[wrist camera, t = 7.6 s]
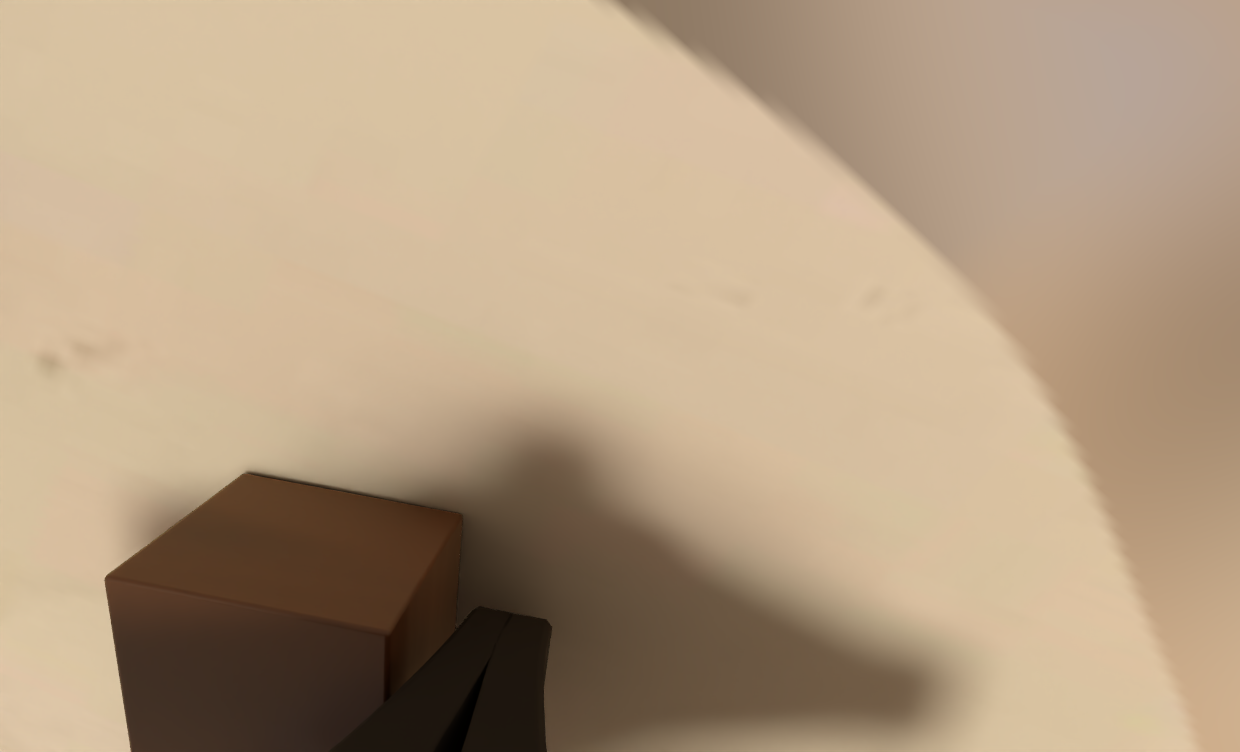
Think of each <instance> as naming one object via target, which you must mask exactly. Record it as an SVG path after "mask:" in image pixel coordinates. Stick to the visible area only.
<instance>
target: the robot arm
mask: <svg viewBox="0 0 1240 752" xmlns="http://www.w3.org/2000/svg"><path fill="white" fill-rule="evenodd" d="M551 631H552V626H551V625H550V624H549V622H548V621H547V620H546V619H540V618H535V617H530V616H525V615H520V614H515V613H510V612H504V611H499V610H494V609H489V608H484V607H478V608H476V609H474V610H473V611H472V612H471V613H470V614H469V615H468V616H467V618H466V619H465V620H464V621H463V622H462V624H461V625H460V626H459V627H458V628H457V629H456V630H455V632H454V633H453V634H452V635H451V636H450V637H449V638H448V639H447V640H446V642H445V643H444V644H443V645H442V646H441V647H440V648H439V649H438V650H437V651H436V652H435V653H434V654H433V655H432V656H431V657H430V659H429V660H428V661H427V662H426V663H425V664H424V665H423V666H422V667H421V668H420V669H419V670H418V671H417V672H416V673H415V674H414V675H413V676H412V677H411V678H409V679H408V680H407V681H406V682H405V683H404V684H403V685H402V686H401V687H400V688H399V689H398V690H397V691H396V692H395V693H394V694H393V695H392V696H391V697H390V698H389V699H388V700H387V701H386V702H385V703H384V704H382V705H381V706H380V707H379V708H378V709H377V710H376V711H375V712H373V713H372V714H371V715H370V716H369V717H368V718H367V719H366V720H364V721H363V722H362V723H361V724H360V725H359V726H358V727H357V728H355V729H354V730H353V731H352V732H351V733H350V734H349V735H348V736H346V737H345V738H344V739H343V740H342V741H340V742H339V743H338V744H337V745H336V746H334V747H333V748H332V749H331V750H330V751H328V752H547V748H546V736H545V715H544V682H545V675H546V668H547V660H548V653H549V646H550V638H551Z"/></svg>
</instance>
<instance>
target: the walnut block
mask: <svg viewBox="0 0 1240 752" xmlns="http://www.w3.org/2000/svg"><path fill="white" fill-rule="evenodd" d="M462 522H463V517H462V515H461V514H459V513H453V512H448V511H443V510H437V509H432V508H427V507H421V506H416V505H411V504H405V503H400V502H395V501H389V500H384V499H379V498H373V497H368V496H363V495H357V494H352V493H347V492H341V491H336V490H330V489H325V488H320V487H314V486H309V485H304V484H298V483H293V482H288V481H282V480H277V479H272V478H266V477H261V476H256V475H250V474H242V475H241V476H239V477H238V478H237V479H235V480H234V481H233V482H231V483H230V484H229V485H227V486H226V487H225V488H223V489H222V490H221V491H219V492H218V493H217V494H215V495H214V496H212V497H211V498H210V499H208V500H207V501H206V502H204V503H203V504H202V505H200V506H199V507H198V508H196V509H195V510H194V511H192V512H191V513H190V514H188V515H187V516H186V517H184V518H183V519H182V520H180V521H179V522H178V523H176V524H175V525H174V526H172V527H171V528H170V529H168V530H167V531H165V532H164V533H163V534H161V535H160V536H159V537H157V538H156V539H155V540H153V541H152V542H151V543H149V544H148V545H147V546H145V547H144V548H143V549H141V550H140V551H139V552H137V553H136V554H135V555H133V556H132V557H131V558H129V559H128V560H127V561H125V562H124V563H123V564H121V565H120V566H118V567H117V568H116V569H114V570H113V571H112V572H110V573H109V574H108V575H107V576H106V577H105V587H106V593H107V600H108V606H109V613H110V619H111V625H112V632H113V638H114V645H115V651H116V658H117V664H118V671H119V677H120V683H121V690H122V696H123V703H124V709H125V716H126V722H127V729H128V735H129V741H130V748H131V752H328V751H330V750H331V749H332V748H333V747H334V746H336V745H337V744H338V743H339V742H340V741H342V740H343V739H344V738H345V737H346V736H348V735H349V734H350V733H351V732H352V731H353V730H354V729H355V728H357V727H358V726H359V725H360V724H361V723H362V722H363V721H364V720H366V719H367V718H368V717H369V716H370V715H371V714H372V713H373V712H375V711H376V710H377V709H378V708H379V707H380V706H381V705H382V704H384V703H385V702H386V701H387V700H388V699H389V698H390V697H391V696H392V695H393V694H394V693H395V692H396V691H397V690H398V689H399V688H400V687H401V686H402V685H403V684H404V683H405V682H406V681H407V680H408V679H409V678H411V677H412V676H413V675H414V674H415V673H416V672H417V671H418V670H419V669H420V668H421V667H422V666H423V665H424V664H425V663H426V662H427V661H428V660H429V659H430V657H431V656H432V655H433V654H434V653H435V652H436V651H437V650H438V649H439V648H440V647H441V646H442V645H443V644H444V643H445V642H446V640H447V639H448V638H449V637H450V636H451V635H452V634H453V633H454V632H455V622H456V608H457V594H458V579H459V565H460V551H461V536H462Z"/></svg>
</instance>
